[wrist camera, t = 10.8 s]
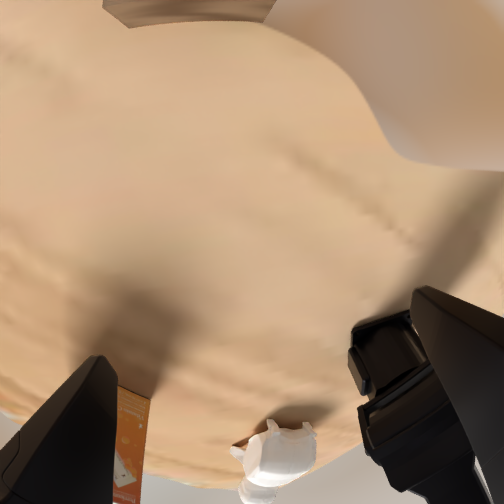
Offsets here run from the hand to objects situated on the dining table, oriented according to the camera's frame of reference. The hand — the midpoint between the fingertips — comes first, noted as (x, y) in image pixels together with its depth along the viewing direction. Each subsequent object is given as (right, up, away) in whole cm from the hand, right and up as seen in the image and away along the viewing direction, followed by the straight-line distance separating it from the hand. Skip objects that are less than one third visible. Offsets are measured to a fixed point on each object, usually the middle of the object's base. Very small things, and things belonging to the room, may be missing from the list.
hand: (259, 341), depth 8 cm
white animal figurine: (+2, -23, +27) cm, 36 cm away
